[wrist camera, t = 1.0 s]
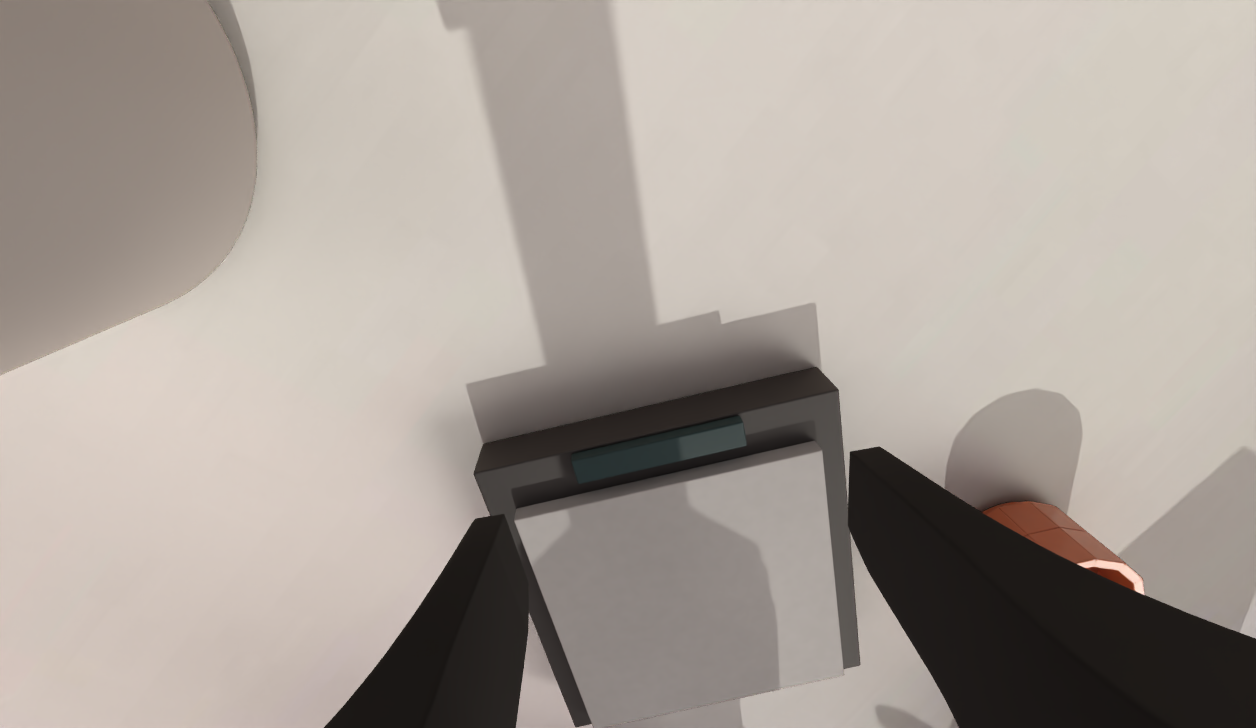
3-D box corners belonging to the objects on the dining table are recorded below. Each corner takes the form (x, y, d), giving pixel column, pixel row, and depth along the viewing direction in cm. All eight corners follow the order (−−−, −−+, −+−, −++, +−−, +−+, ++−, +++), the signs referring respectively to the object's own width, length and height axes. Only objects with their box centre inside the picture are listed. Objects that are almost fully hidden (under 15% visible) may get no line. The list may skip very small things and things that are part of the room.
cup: (1059, 577, 26) (1135, 651, 23) (938, 604, 26) (995, 681, 23) (1070, 481, 24) (1157, 545, 20) (938, 510, 24) (1001, 579, 21)
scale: (842, 628, 27) (868, 680, 24) (575, 687, 27) (575, 744, 24) (817, 366, 21) (848, 398, 19) (482, 443, 21) (468, 485, 19)
